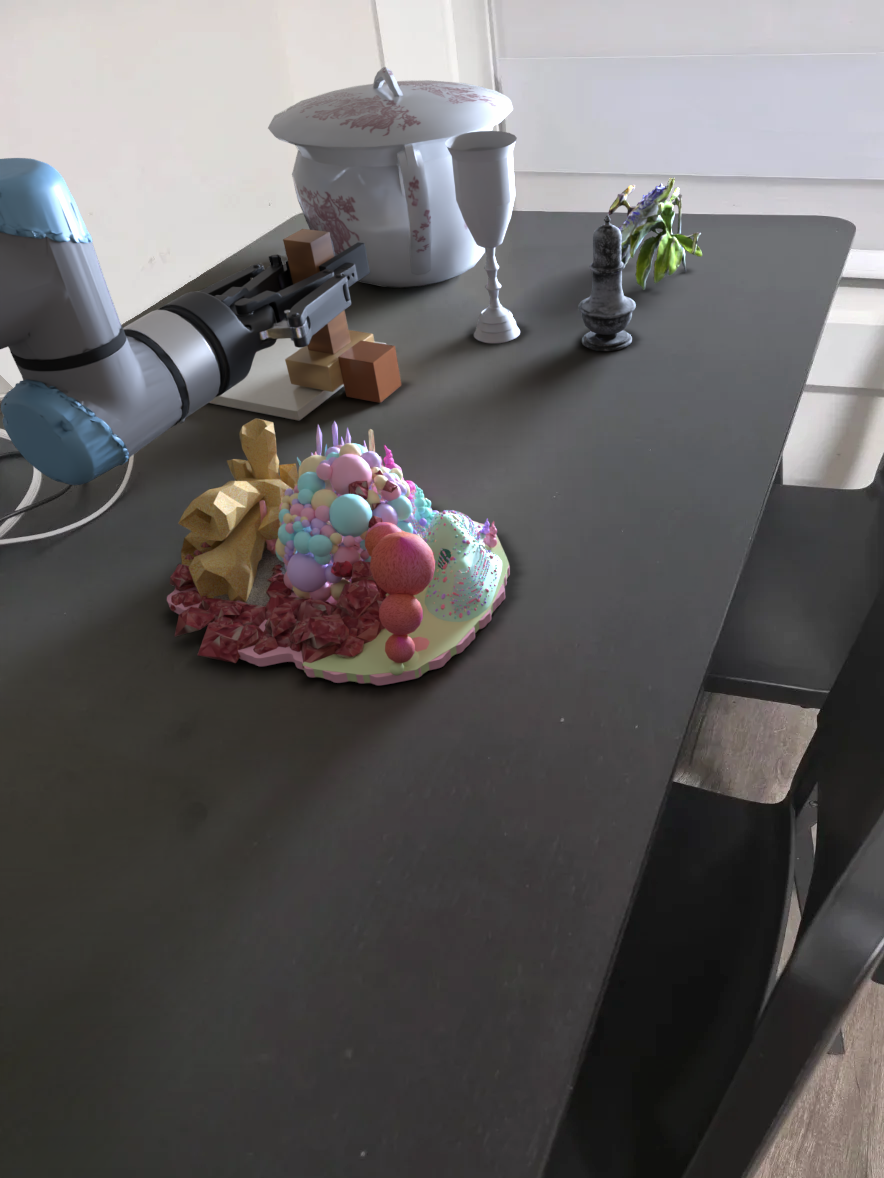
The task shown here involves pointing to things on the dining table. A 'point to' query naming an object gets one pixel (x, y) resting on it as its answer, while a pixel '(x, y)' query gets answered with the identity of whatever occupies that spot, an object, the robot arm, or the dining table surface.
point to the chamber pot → (389, 172)
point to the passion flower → (648, 220)
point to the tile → (273, 386)
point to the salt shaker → (607, 294)
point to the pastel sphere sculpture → (333, 566)
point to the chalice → (487, 212)
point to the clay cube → (370, 371)
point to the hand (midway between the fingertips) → (347, 256)
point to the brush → (321, 355)
